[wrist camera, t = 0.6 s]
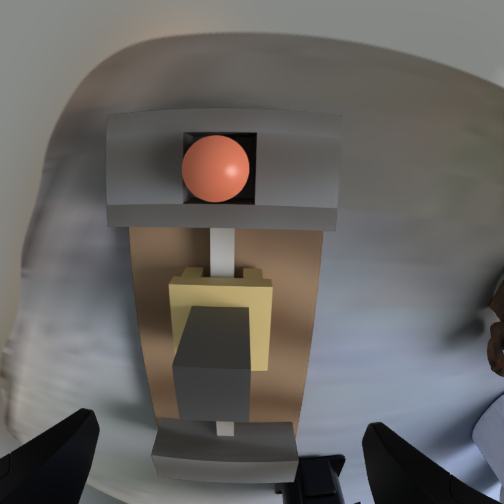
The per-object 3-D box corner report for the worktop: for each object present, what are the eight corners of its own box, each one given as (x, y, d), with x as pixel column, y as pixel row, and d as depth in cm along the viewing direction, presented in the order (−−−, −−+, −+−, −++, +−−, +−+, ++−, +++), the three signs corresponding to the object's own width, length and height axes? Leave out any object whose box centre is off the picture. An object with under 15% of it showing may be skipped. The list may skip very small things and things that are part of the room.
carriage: (264, 345, 19) (274, 438, 12) (184, 342, 19) (157, 432, 12) (268, 268, 18) (284, 343, 10) (179, 266, 17) (138, 337, 10)
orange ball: (247, 195, 14) (248, 202, 11) (192, 194, 14) (182, 202, 11) (249, 140, 13) (250, 135, 11) (193, 140, 13) (182, 135, 11)
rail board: (291, 435, 24) (299, 484, 19) (165, 431, 24) (153, 479, 18) (322, 128, 17) (352, 116, 12) (136, 127, 17) (97, 116, 12)
